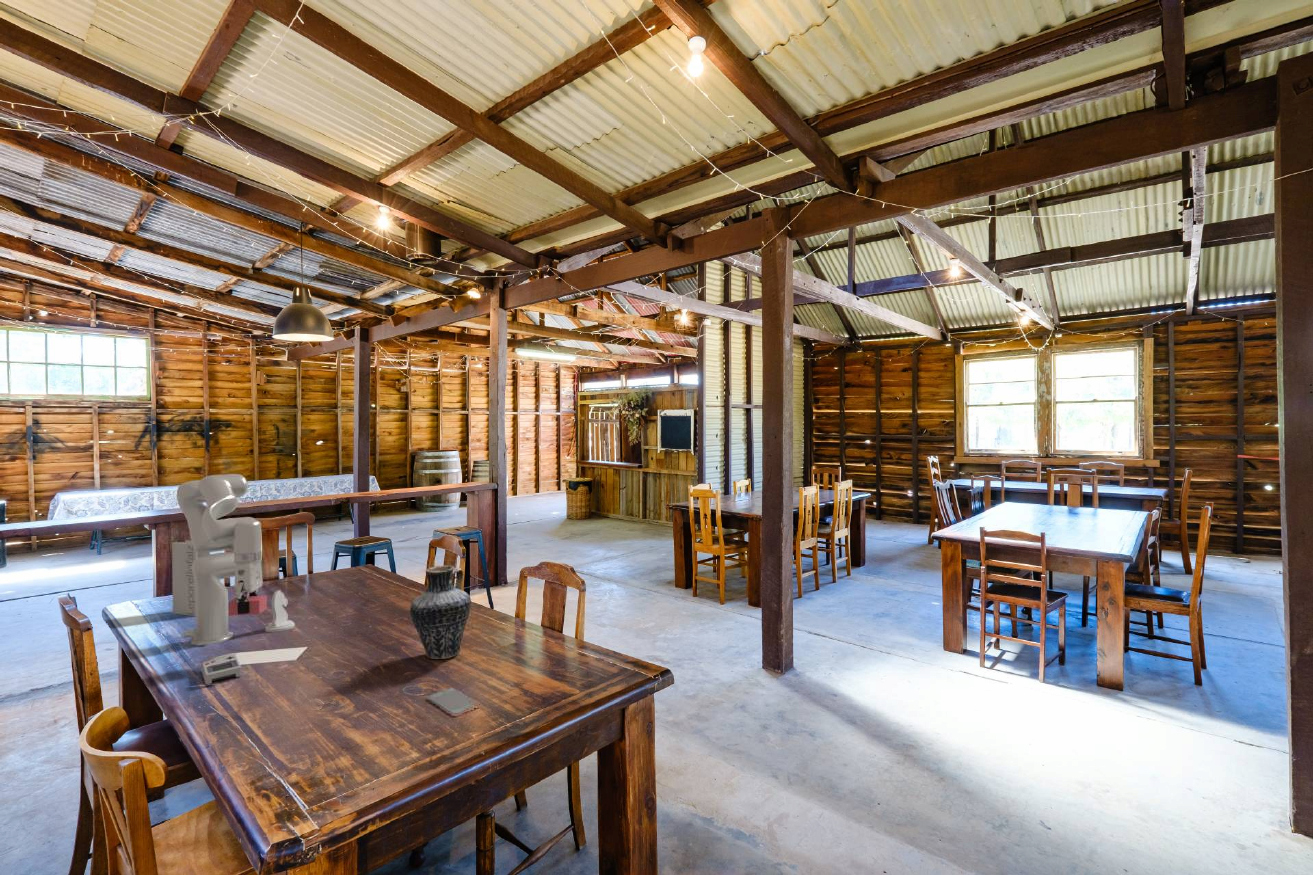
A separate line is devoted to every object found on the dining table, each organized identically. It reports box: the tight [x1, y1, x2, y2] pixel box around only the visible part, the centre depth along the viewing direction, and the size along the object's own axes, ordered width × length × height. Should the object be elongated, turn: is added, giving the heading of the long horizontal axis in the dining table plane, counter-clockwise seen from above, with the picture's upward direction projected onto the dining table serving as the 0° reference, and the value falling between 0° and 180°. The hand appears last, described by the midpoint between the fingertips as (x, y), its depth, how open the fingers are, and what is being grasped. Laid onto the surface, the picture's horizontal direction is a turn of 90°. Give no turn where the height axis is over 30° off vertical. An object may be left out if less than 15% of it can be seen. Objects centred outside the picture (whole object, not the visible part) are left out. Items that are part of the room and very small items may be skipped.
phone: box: [426, 687, 475, 714], centre depth 164 cm, size 8×16×1 cm, turn 48°
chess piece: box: [264, 589, 296, 633], centre depth 227 cm, size 10×10×15 cm
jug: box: [409, 564, 472, 660], centre depth 199 cm, size 21×19×30 cm
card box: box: [228, 595, 268, 617], centre depth 196 cm, size 9×6×4 cm, turn 104°
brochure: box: [171, 540, 211, 617], centre depth 247 cm, size 14×6×30 cm, turn 73°
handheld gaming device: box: [200, 652, 243, 685], centre depth 183 cm, size 9×15×4 cm, turn 43°
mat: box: [235, 646, 308, 666], centre depth 197 cm, size 22×12×1 cm, turn 104°
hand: (247, 609), depth 196 cm, fingers closed on card box, 6 cm apart
